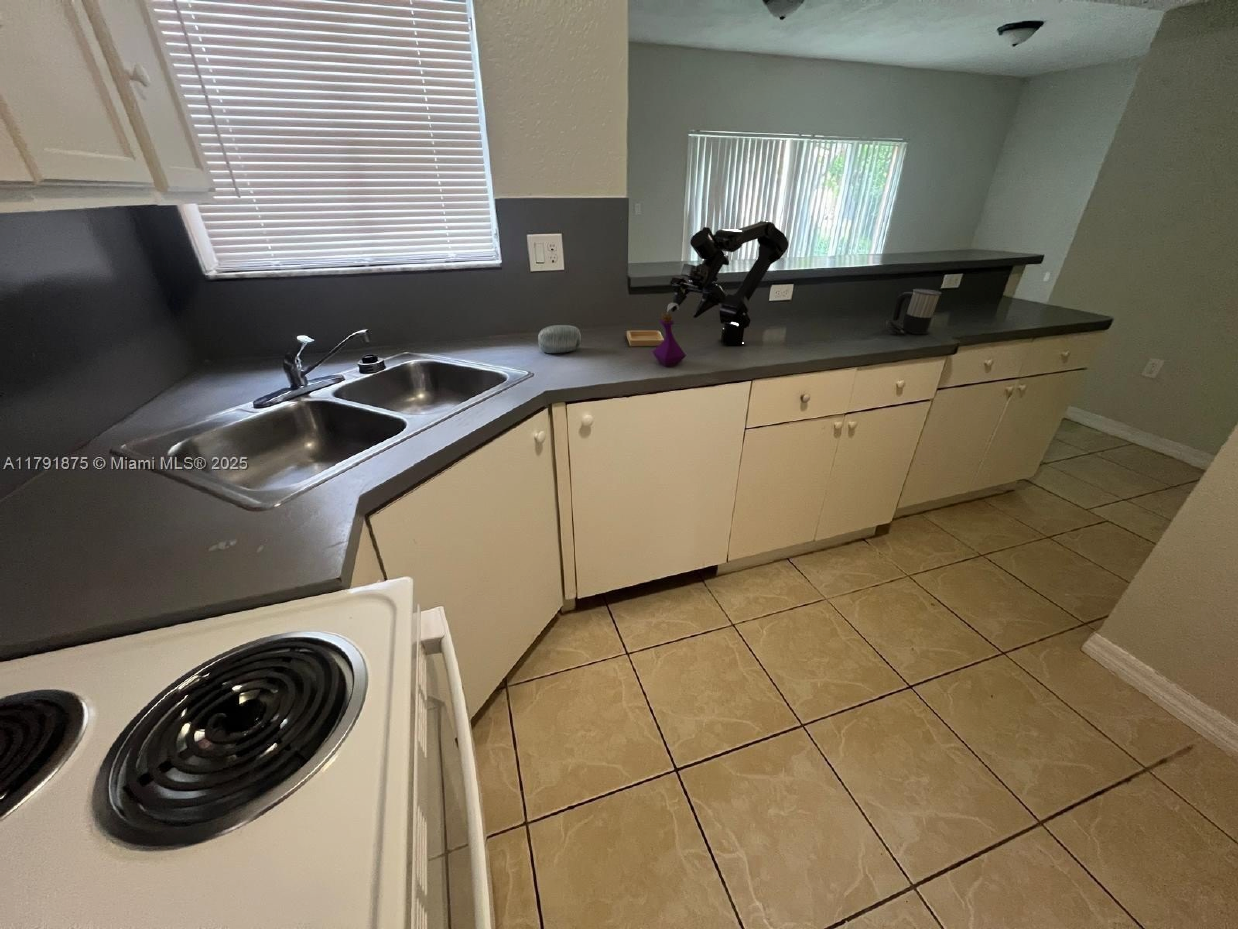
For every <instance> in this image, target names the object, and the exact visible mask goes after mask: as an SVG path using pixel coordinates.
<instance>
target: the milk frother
mask: <svg viewBox="0 0 1238 929" xmlns="http://www.w3.org/2000/svg"><path fill="white" fill-rule="evenodd" d="M912 290H913V291H905V292H903V293H901V294H900V295H899V296H898V297H897V298H896V301H895V305H894V309H893V314H892V321H898V320H899V319H900V317H901V314H902V310H903V306H904V302H905V300H906V299H909V302H908V305H907V308H906V311H905V314H904V316H903V320H902V322H901V325H902V326H900V325H898V324H896V323H894V322H892V321H886V327H887V328H888V329H889V330H891V331H892V332H893V333H894V335H898V334H899V335H905V334H906V333H908V334H916V335H927V334H928V330H929V328H930V324H931V321H932V318H933V315H934V312H935V310H936V307H937V304H938V301H939V298H940V296H941V295H942V292H941V291H938V290H934V289H927V288H914V289H912Z"/></svg>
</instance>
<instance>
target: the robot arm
mask: <svg viewBox="0 0 1238 929" xmlns="http://www.w3.org/2000/svg"><path fill="white" fill-rule="evenodd" d="M751 241H757V243H758V256H757V258H756V260H755V261H754V263H753V264H752V266H751V268H750V269H749V271H748V273H747V274H746V276H745V278H744V279H743V281H742V282H741V284H740V285H739V287H738V289H737V291H736V292H735V293H734V294H730V293H728V294H726V292H725V291H724V290H723V288H722V287H721V285H719V284H715V283H714V282H718V280H719V278H718V274H719V273H720V271H721V269H722V268H723V266H729V265H730V260H729V255H726V254H725V252H726V253H727V252H728V253H735V252H736V251H738V250H739V249H741V248H742V246H743V245H744V244H747V243H748V242H751ZM689 244H690V246H691V247H692V249H693V251H695V253H696V254H697V256H698V257H699V258H700V259H701V260H703V261H702V263H699V264H697V265H695V264H689V263H683V265H682V269H681V272H680V276H672V277H671V279H670V282H669V284H670V285H671V288H672V289H673V299H672V303H676V304H678V305H679V307H680V306H681V305H682V303H683V302H685V300H686V299H687V298H688V296H687V295H688V294H689V293H690V292H693V293H697V294H702V296H701V300H700V302H699V303H698V305H697V308H696V309H695V311H694V313H693V315H692V316H693V318H694V319H697V318H698V317H700V316H701V315H702V314H704V313H705V312H707V311H709V310H710V309H712V308H714V307H716V306H719V305H720V304H721V306H720V308H719V321H720V324H722V325H723V327H722V329H721V336H720V341H721V342H722V344H723V345H725V346H744V345H745V343H744V342H743V341H744V335H745V329H747V328H749V327H750V324H751V318H750V316H749V315H748V312H749V301H750V299H751V298H752V296H753V295H754V293H755V291H756V290H757V288H758V287H759V285H760V283H761V281H762V280H763V278H764V277H765V275H766V273H767V272H768V270H769V268H770V267H771V266H772V264H774V263H775V262H777V261H779V260H781V259H782V257H783V256H784V255H785V253H786V252H787V250H788V249H789V240H788V237H787V236H786V235H785V234H784V232H782V231H781V230H780V229H778V227H776V224H775V223H774V222H772V221H764V220H760V221H758V222H756V223H753V224H750V225H746V226H744V227H740V228H737V229H725V228H724V229H718V230H716V231H715V233H714V234H713V232H712V230H711V228H710V227H709V226H703V228H702V229H701V230H698V231H697V232H695V234H694V235H692V236H691V238H690V241H689ZM681 276H685V277H687V280H686V279H685V278H684V277H681ZM687 281H688V282H690V283H688V282H687ZM677 310H678V309H677V307H676V305H675V306H673V307H672V308H671V309H670V311H671V312H672V313H674V312H675V311H677Z"/></svg>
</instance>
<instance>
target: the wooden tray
mask: <svg viewBox="0 0 1238 929" xmlns="http://www.w3.org/2000/svg"><path fill="white" fill-rule="evenodd" d="M626 338H627V341H628V344H629V347H658V346H659V345H660V344H661V343H662V342H663V341H664V339H665V337H663V335H662V333H661V331H660V330H626Z"/></svg>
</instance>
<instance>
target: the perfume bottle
mask: <svg viewBox="0 0 1238 929" xmlns="http://www.w3.org/2000/svg"><path fill="white" fill-rule="evenodd" d="M675 305H676V307H677V309H676V310H678V311H679V310H680V306H679V305H678V304H676V303H673V302H669V303H668V305H667V308H666V309H667V310H666V313H664V312H663V313H662V314H661V320H660V321H659V323H660V324H661V325H662V327H663V328H664V332H665V335H664V341H663V342H662V343H661V344H660V345H659V346H656V348H654V349H653V350H652V354H653V357H655V359H656V361H657V362H658V363H659V364H660V365H662V366H663V367H665V368H667V367H675V366H678V365H679V364H680V363H681V362H682V361H683V360H684V359H685V358H686V356H687V354H686V353H685V352H684V351H683V349H682V347H681V346H680V345H679V343H678V341H677V340H676V338H675V337H674V334H673V330H672V326H673V325H674V324H675V321H674V320H673V317H672V315H671V314H670V313H669V311H671V308H672V307H673V306H675Z"/></svg>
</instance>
